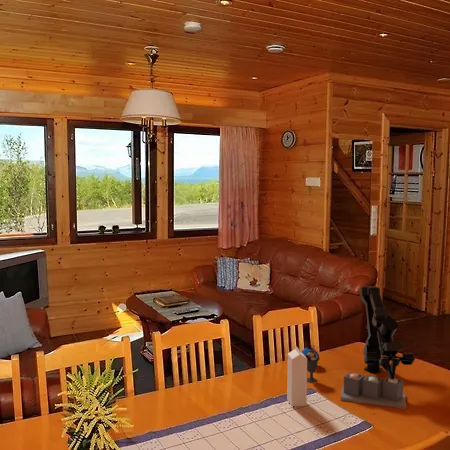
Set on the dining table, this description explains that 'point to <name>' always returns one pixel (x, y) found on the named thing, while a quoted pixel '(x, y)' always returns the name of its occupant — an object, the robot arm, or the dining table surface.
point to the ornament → (309, 350)
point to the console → (373, 391)
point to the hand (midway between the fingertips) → (392, 379)
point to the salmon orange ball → (354, 375)
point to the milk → (297, 378)
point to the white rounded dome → (393, 380)
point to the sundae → (312, 364)
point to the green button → (373, 379)
